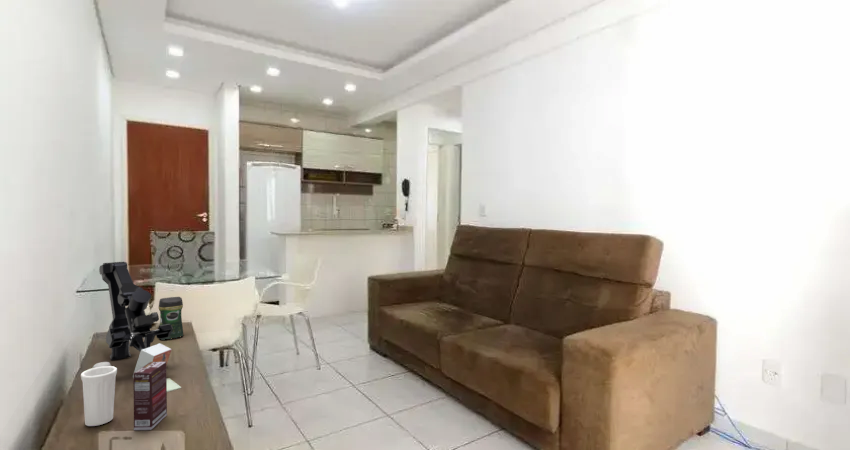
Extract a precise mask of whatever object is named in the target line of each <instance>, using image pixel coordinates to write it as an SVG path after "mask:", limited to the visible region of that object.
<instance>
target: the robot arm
mask: <svg viewBox="0 0 850 450" xmlns="http://www.w3.org/2000/svg"><path fill="white" fill-rule="evenodd" d="M98 271H99V274H100V275H101V280H102V281H103V282H104V283H105V284H107V287H108V292H109V301H110V307H111V313H112V321H111V322H110V324H109V326H108V330H107V333H106V336H105V343H106V344H107V345H108V349H111V353H110V354H109V358H110V360H111V361H115V360H121V359H126V358H131V357H132V355H131V352H130V348H134V349H135V350H137V351H138V352H139V353H140V352H141V350H142V349H145V348H148V347H151V343H153V342H154V340H155V338H156V339H158V340H160V339H164V338H168V337H170V334H171V332H172V330H173V327H172V325H171V324H165V325H160V324H159V325H158V327H157V329H152V328H153V324H154V323H156V322H159V321H160V317H159V313H158V311H157V312H151V313H150V314H146V312H145V310H146V309H147V308H148V305H149V302H150V300H151V299H152V294H151V293H150V292H149V290H146V289H143V287H140V286H138V285H136V284H135V283H134V282H133V279H132V276H131V274H130V272H129V270H128V262H126V261H113V262H104V263H102V265H99V270H98Z"/></svg>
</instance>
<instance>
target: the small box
mask: <svg viewBox="0 0 850 450" xmlns="http://www.w3.org/2000/svg"><path fill="white" fill-rule="evenodd" d="M171 353H172V348H170V347H168V346H167V345H164V344H163V343H157V344H154V345H150V347H148V348H145V349H142V350H141V352H140V351H139V356H138V359H137V362H136V365H135V368H134V371H133V373H134V372H136V371H137V370H139V369H140V368H142V367H144V366H145V365H147V364H148V363H150V362H166V367H167V366H168V362H169V359H170V355H171ZM133 377H134V376H133V375H132V378H133Z"/></svg>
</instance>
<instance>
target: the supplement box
mask: <svg viewBox="0 0 850 450" xmlns="http://www.w3.org/2000/svg"><path fill="white" fill-rule="evenodd" d="M167 375H168V373H167V366H166V362H150V363H148V364H147V365H145V366H144V367H142V368H140V369H139V370H137V371H136V372H134V371H133V375H132V378H133V431H152V430H153V429H154V428H155V427H157V425H158V424H159V423H160V422H161V421H162V420H163V419H164V418H165V417H167V416H168V405H167V404H168V402H167V401H168V400H167V399H168V397H167V394H168V392H167ZM133 376H134V377H133Z"/></svg>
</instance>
